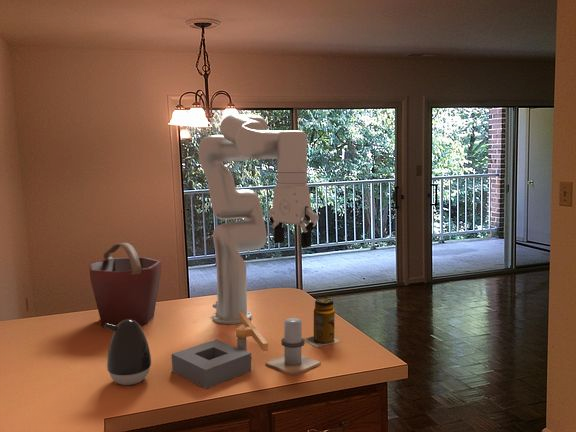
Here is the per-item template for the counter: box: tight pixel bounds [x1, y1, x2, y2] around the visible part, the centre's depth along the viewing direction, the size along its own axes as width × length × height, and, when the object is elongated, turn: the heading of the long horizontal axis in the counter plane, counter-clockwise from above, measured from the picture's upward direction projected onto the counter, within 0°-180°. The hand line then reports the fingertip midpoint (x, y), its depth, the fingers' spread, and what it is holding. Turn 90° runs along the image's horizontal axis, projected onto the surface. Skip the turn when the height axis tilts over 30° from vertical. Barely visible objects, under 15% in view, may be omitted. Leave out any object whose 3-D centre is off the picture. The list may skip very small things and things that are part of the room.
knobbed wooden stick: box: [235, 312, 269, 352], centre depth 140 cm, size 5×26×2 cm, turn 18°
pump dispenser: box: [104, 319, 152, 386], centre depth 127 cm, size 10×10×15 cm
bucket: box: [88, 242, 162, 328], centre depth 172 cm, size 24×22×25 cm
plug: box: [280, 317, 306, 366], centre depth 136 cm, size 6×6×11 cm
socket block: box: [171, 337, 252, 390], centre depth 134 cm, size 14×20×6 cm
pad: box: [265, 354, 322, 377], centre depth 137 cm, size 10×10×1 cm
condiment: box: [303, 297, 341, 348], centre depth 153 cm, size 7×8×12 cm
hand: (292, 244), depth 138 cm, fingers open, 9 cm apart
